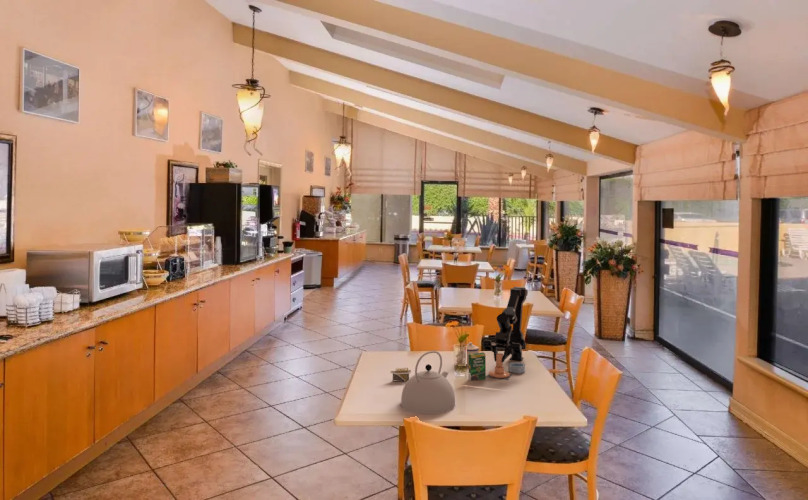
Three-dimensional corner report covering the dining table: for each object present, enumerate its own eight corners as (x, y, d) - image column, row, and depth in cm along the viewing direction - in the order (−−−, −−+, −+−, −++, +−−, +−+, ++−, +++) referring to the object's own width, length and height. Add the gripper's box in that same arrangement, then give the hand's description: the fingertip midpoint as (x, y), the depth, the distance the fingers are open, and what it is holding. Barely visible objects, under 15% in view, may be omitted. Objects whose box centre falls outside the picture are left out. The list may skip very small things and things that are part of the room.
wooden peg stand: (491, 370, 287) (491, 350, 286) (511, 373, 283) (511, 352, 283) (486, 376, 278) (487, 355, 277) (507, 378, 274) (507, 357, 273)
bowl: (510, 369, 293) (510, 362, 293) (525, 371, 290) (525, 363, 290) (507, 373, 286) (507, 365, 286) (522, 375, 283) (523, 367, 283)
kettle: (426, 391, 259) (427, 341, 257) (468, 402, 244) (469, 350, 242) (389, 405, 240) (390, 352, 238) (433, 418, 225) (434, 362, 223)
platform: (422, 384, 269) (422, 370, 268) (385, 387, 265) (385, 373, 264) (416, 377, 280) (416, 364, 280) (380, 379, 276) (380, 366, 276)
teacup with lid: (480, 363, 305) (481, 341, 304) (475, 367, 296) (476, 345, 296) (459, 360, 310) (459, 339, 309) (453, 364, 301) (454, 342, 301)
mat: (490, 372, 288) (490, 371, 288) (512, 375, 284) (512, 373, 284) (485, 378, 278) (485, 377, 278) (507, 381, 273) (507, 380, 273)
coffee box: (470, 382, 272) (470, 354, 271) (467, 380, 275) (468, 353, 274) (485, 380, 274) (486, 353, 273) (483, 378, 277) (483, 352, 276)
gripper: (483, 323, 286) (476, 350, 277) (521, 327, 278) (515, 355, 269) (487, 336, 294) (481, 362, 285) (524, 339, 286) (518, 367, 277)
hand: (498, 361), depth 279 cm, fingers closed on wooden peg stand, 3 cm apart
